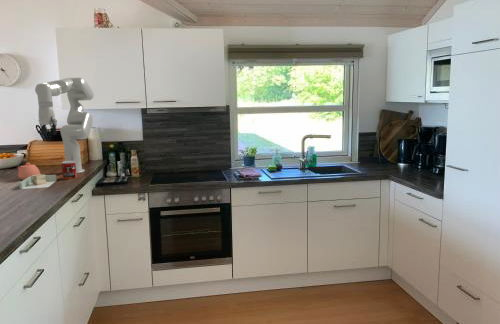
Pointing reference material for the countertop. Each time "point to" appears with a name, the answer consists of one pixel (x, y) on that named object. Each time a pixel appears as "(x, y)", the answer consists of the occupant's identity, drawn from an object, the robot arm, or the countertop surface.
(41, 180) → the cube
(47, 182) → the arena
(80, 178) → the countertop surface
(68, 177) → the canned food
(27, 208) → the countertop surface
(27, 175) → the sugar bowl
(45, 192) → the countertop surface
